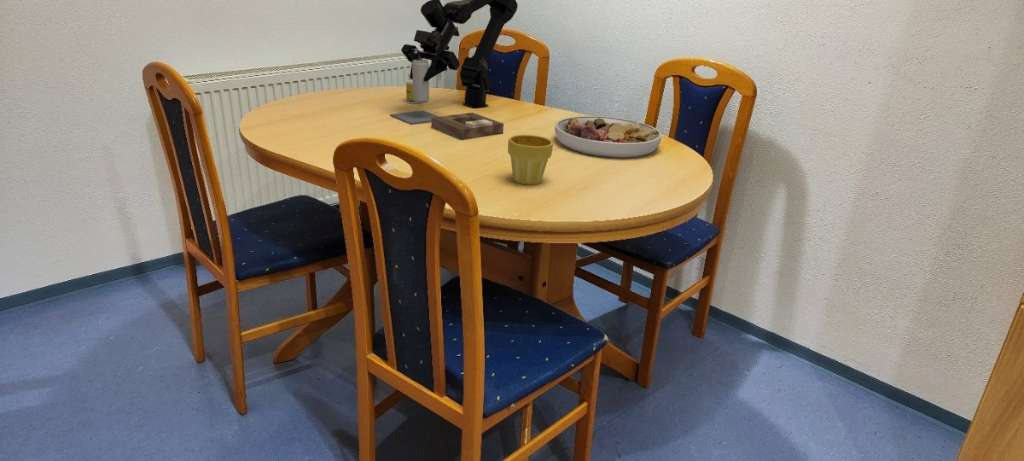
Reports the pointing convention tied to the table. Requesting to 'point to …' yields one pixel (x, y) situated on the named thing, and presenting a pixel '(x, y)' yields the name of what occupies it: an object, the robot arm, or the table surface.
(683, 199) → the table surface
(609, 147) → the bowl
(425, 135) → the table surface
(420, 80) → the beverage can
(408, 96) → the supplement bottle
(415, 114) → the rubber mat
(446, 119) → the puzzle board
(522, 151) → the plant pot
